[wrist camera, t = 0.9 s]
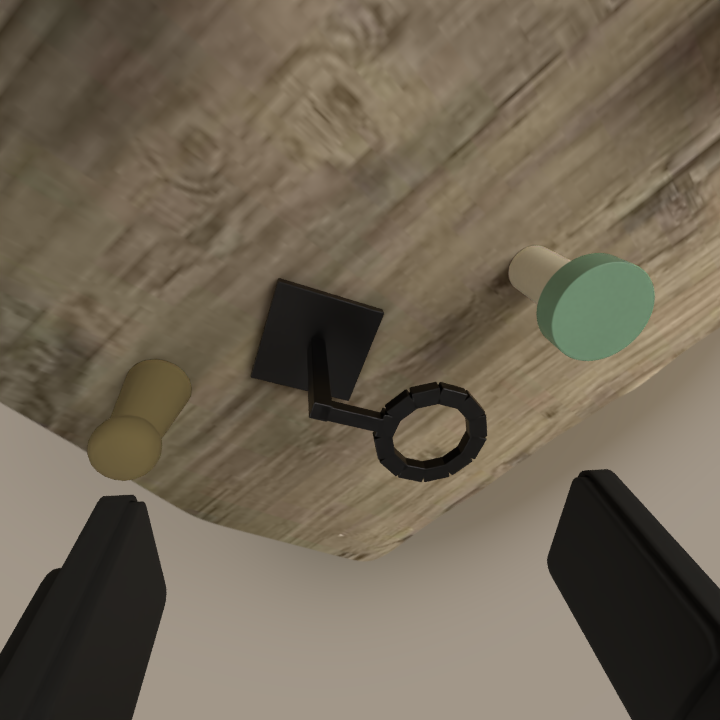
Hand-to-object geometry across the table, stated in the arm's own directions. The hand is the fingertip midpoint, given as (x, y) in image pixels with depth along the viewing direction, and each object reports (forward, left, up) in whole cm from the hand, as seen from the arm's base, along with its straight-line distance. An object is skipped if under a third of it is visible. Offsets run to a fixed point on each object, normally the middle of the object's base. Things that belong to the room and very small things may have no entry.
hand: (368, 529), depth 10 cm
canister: (-3, +20, -32) cm, 38 cm away
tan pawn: (+19, -10, -32) cm, 39 cm away
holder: (+10, +7, -32) cm, 34 cm away
